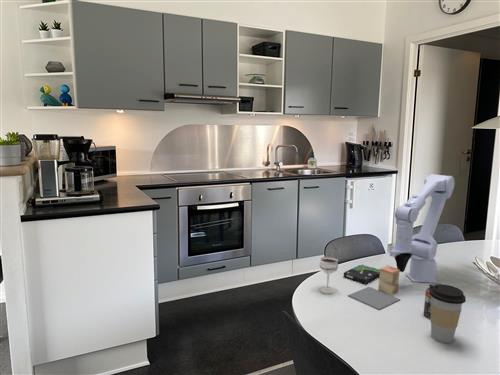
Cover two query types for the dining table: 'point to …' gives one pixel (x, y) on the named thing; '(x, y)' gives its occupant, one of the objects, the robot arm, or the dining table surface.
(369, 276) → the disk drive
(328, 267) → the wineglass
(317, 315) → the dining table surface
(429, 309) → the supplement bottle
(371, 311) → the dining table surface
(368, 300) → the mat
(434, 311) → the coffee cup
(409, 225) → the robot arm
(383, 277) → the maple block
